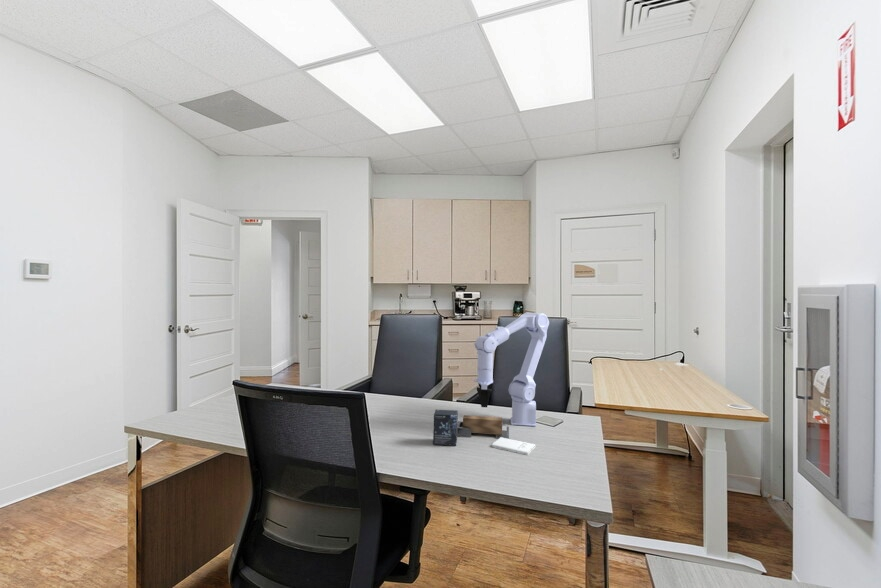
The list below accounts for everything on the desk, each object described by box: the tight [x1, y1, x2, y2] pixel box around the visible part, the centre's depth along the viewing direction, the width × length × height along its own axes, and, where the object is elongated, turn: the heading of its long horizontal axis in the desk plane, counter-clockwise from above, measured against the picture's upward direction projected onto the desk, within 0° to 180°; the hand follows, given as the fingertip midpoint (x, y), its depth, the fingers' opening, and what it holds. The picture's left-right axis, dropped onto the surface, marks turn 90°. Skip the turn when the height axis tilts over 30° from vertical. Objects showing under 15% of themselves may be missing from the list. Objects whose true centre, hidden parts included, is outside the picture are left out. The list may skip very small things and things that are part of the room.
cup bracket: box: [457, 420, 473, 438], centre depth 151 cm, size 6×8×3 cm
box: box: [432, 409, 459, 447], centre depth 141 cm, size 8×6×11 cm
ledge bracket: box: [495, 426, 510, 439], centre depth 148 cm, size 4×6×2 cm
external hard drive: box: [491, 437, 537, 456], centre depth 138 cm, size 2×8×12 cm
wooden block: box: [462, 414, 503, 435], centre depth 150 cm, size 14×4×5 cm, turn 81°
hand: (484, 404), depth 156 cm, fingers open, 7 cm apart
